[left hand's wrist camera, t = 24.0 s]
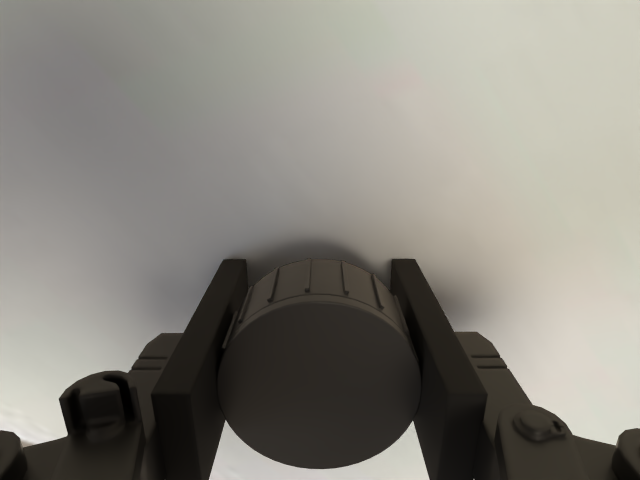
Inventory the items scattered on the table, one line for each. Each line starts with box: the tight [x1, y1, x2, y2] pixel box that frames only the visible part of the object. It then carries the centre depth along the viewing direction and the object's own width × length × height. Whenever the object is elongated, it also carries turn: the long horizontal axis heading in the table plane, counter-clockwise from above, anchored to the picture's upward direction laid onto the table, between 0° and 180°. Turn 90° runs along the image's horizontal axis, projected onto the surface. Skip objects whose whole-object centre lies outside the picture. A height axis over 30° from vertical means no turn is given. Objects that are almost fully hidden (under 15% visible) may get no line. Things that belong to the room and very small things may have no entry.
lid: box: [217, 258, 422, 469], centre depth 11 cm, size 5×5×2 cm
